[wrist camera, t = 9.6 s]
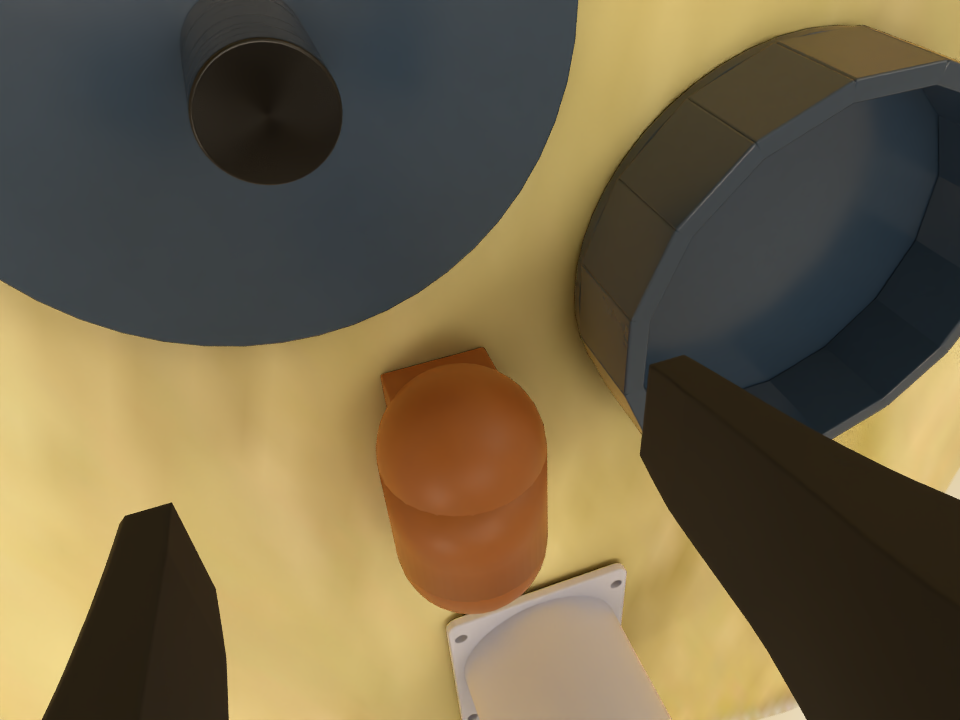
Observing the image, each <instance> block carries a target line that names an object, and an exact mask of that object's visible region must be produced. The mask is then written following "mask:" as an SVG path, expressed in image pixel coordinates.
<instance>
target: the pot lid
mask: <svg viewBox="0 0 960 720" xmlns="http://www.w3.org/2000/svg"><path fill="white" fill-rule="evenodd" d="M577 9H578V0H0V280H1V281H3V282H4V283H6V284H8V285H10V286H12V287H13V288H15V289H17V290H19V291H20V292H22V293H24V294H26V295H28V296H29V297H31V298H33V299H35V300H36V301H39V302H41V303H43V304H45V305H48V306H50V307H52V308H55V309H57V310H59V311H62V312H64V313H66V314H68V315H71V316H73V317H75V318H78V319H80V320H83V321H86V322H89V323H93V324H96V325H99V326H102V327H105V328H108V329H111V330H115V331H118V332H121V333H125V334H130V335H134V336H139V337H144V338H149V339H153V340H158V341H163V342H171V343H180V344H189V345H199V346H254V345H264V344H275V343H284V342H289V341H294V340H299V339H304V338H309V337H314V336H319V335H322V334H325V333H328V332H332V331H335V330H338V329H341V328H345V327H348V326H351V325H354V324H356V323H359V322H361V321H363V320H366V319H368V318H370V317H373V316H375V315H377V314H380V313H382V312H384V311H387V310H389V309H390V308H392V307H394V306H396V305H398V304H399V303H401V302H403V301H405V300H406V299H408V298H410V297H412V296H414V295H415V294H417V293H419V292H420V291H422V290H423V289H424V288H426V287H427V286H429V285H430V284H431V283H433V282H434V281H436V280H437V279H438V278H440V277H441V276H443V275H444V274H445V273H447V272H448V271H449V270H450V269H452V268H453V267H454V266H455V265H456V264H457V263H458V262H459V261H461V260H462V259H463V258H464V257H465V256H466V255H467V254H468V253H470V252H471V251H472V250H473V249H474V248H475V247H476V246H477V245H478V244H479V243H480V241H481V240H482V239H483V238H484V237H485V236H486V235H487V234H488V233H489V232H490V230H491V229H492V228H493V227H494V226H495V225H496V224H497V223H498V222H499V220H500V219H501V218H502V216H503V215H504V213H505V212H506V211H507V209H508V208H509V207H510V205H511V204H512V202H513V201H514V200H515V198H516V197H517V195H518V194H519V193H520V191H521V190H522V188H523V186H524V184H525V183H526V181H527V179H528V177H529V176H530V174H531V172H532V170H533V169H534V167H535V165H536V163H537V162H538V160H539V158H540V156H541V153H542V151H543V149H544V146H545V144H546V142H547V140H548V137H549V135H550V133H551V130H552V128H553V126H554V123H555V121H556V117H557V114H558V111H559V108H560V104H561V101H562V98H563V95H564V91H565V88H566V85H567V81H568V76H569V70H570V65H571V60H572V54H573V49H574V44H575V36H576V22H577Z"/></svg>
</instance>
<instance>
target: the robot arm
mask: <svg viewBox="0 0 960 720" xmlns="http://www.w3.org/2000/svg"><path fill="white" fill-rule="evenodd" d="M640 456H641V458H642V460H643V462H644V464H645V466H646V468H647V470H648V472H649V474H650V476H651V478H652V480H653V482H654V484H655V486H656V487H657V489H658V491H659V493H660V495H661V496H662V498H663V500H664V502H665V504H666V506H667V507H668V509H669V511H670V512H671V514H672V515H673V517H674V518H675V519H676V521H677V522H678V524H679V525H680V527H681V528H682V529H683V531H684V532H685V534H686V535H687V537H688V538H689V539H690V541H691V542H692V544H693V545H694V547H695V548H696V549H697V551H698V552H699V554H700V555H701V556H702V558H703V559H704V561H705V562H706V563H707V565H708V566H709V568H710V569H711V570H712V572H713V573H714V575H715V576H716V577H717V579H718V580H719V581H720V583H721V584H722V586H723V587H724V588H725V590H726V591H727V593H728V594H729V595H730V597H731V598H732V600H733V601H734V602H735V604H736V605H737V607H738V608H739V609H740V611H741V612H742V614H743V615H744V616H745V618H746V619H747V621H748V622H749V623H750V625H751V626H752V628H753V629H754V631H755V633H756V634H757V636H758V637H759V639H760V640H761V642H762V643H763V645H764V646H765V648H766V649H767V651H768V653H769V654H770V656H771V658H772V660H773V661H774V663H775V665H776V667H777V668H778V670H779V672H780V673H781V675H782V677H783V679H784V680H785V682H786V684H787V686H788V687H789V689H790V691H791V693H792V694H793V696H794V698H795V700H796V701H797V703H798V705H799V707H800V708H801V710H802V712H803V714H804V716H805V718H806V719H807V720H960V500H959V499H957V498H954V497H952V496H950V495H947V494H945V493H943V492H940V491H938V490H936V489H933V488H931V487H929V486H926V485H924V484H922V483H919V482H917V481H915V480H912V479H910V478H908V477H906V476H904V475H902V474H899V473H897V472H895V471H893V470H891V469H889V468H887V467H885V466H883V465H881V464H879V463H877V462H875V461H873V460H871V459H869V458H867V457H865V456H863V455H861V454H859V453H857V452H855V451H853V450H851V449H849V448H847V447H845V446H843V445H841V444H839V443H837V442H835V441H834V440H832V439H830V438H828V437H826V436H824V435H822V434H820V433H819V432H817V431H815V430H813V429H811V428H810V427H808V426H806V425H804V424H802V423H801V422H799V421H797V420H795V419H794V418H792V417H790V416H788V415H786V414H785V413H783V412H781V411H780V410H778V409H776V408H774V407H773V406H771V405H769V404H767V403H766V402H764V401H762V400H761V399H759V398H757V397H756V396H754V395H752V394H751V393H749V392H747V391H746V390H744V389H742V388H740V387H739V386H737V385H735V384H734V383H732V382H730V381H729V380H727V379H725V378H724V377H722V376H720V375H719V374H717V373H715V372H714V371H712V370H710V369H709V368H707V367H705V366H703V365H702V364H700V363H698V362H697V361H695V360H693V359H691V358H689V357H688V356H686V355H681V356H678V357H674V358H671V359H667V360H664V361H661V362H657V363H654V364H650V365H649V373H648V382H647V392H646V402H645V411H644V421H643V430H642V440H641V449H640ZM626 575H627V572H626V569H625V568H624V566H623V565H622V564H621V563H614V564H611V565H608V566H605V567H602V568H599V569H597V570H594V571H591V572H588V573H585V574H582V575H579V576H576V577H574V578H571V579H568V580H565V581H562V582H559V583H556V584H553V585H551V586H548V587H545V588H542V589H539V590H536V591H533V592H530V593H527V594H525V595H522V596H519V597H518V598H517V599H515V600H514V601H512V602H511V603H509V604H508V605H506V606H504V607H502V608H499V609H497V610H495V611H491V612H487V613H483V614H467V615H464V616H461V617H458V618H456V619H454V620H452V621H450V622H449V623H448V625H447V626H446V633H447V639H448V645H449V650H450V656H451V662H452V668H453V674H454V679H455V685H456V691H457V697H458V703H459V709H460V714H461V720H672V719H671V717H670V715H669V713H668V711H667V710H666V708H665V706H664V704H663V702H662V700H661V699H660V697H659V695H658V693H657V691H656V689H655V688H654V686H653V684H652V682H651V680H650V678H649V676H648V675H647V673H646V671H645V669H644V667H643V665H642V664H641V662H640V660H639V658H638V656H637V654H636V653H635V651H634V649H633V647H632V645H631V643H630V642H629V640H628V638H627V636H626V634H625V632H624V631H623V629H622V627H621V621H622V612H623V602H624V593H625V584H626ZM42 720H229V716H228V688H227V663H226V653H225V646H224V639H223V632H222V625H221V619H220V613H219V606H218V600H217V594H216V589H215V587H214V585H213V583H212V581H211V579H210V577H209V575H208V573H207V571H206V569H205V567H204V565H203V563H202V561H201V559H200V557H199V555H198V553H197V551H196V549H195V547H194V545H193V543H192V541H191V539H190V537H189V535H188V533H187V531H186V529H185V527H184V525H183V523H182V521H181V519H180V517H179V516H178V514H177V512H176V510H175V508H174V506H173V504H172V503H168V504H165V505H161V506H158V507H154V508H151V509H148V510H144V511H141V512H137V513H134V514H130V515H127V516H125V517H124V518H123V520H122V521H121V523H120V524H119V527H118V530H117V533H116V536H115V539H114V542H113V545H112V548H111V551H110V554H109V557H108V560H107V563H106V566H105V569H104V572H103V574H102V577H101V580H100V583H99V585H98V588H97V591H96V593H95V596H94V599H93V601H92V604H91V607H90V609H89V612H88V615H87V617H86V620H85V622H84V624H83V627H82V629H81V632H80V634H79V636H78V639H77V641H76V644H75V646H74V649H73V651H72V653H71V656H70V658H69V661H68V663H67V666H66V668H65V670H64V673H63V675H62V677H61V680H60V682H59V684H58V686H57V689H56V691H55V693H54V695H53V697H52V699H51V701H50V703H49V706H48V708H47V710H46V712H45V714H44V716H43V718H42Z"/></svg>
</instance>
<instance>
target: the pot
mask: <svg viewBox="0 0 960 720" xmlns="http://www.w3.org/2000/svg"><path fill="white" fill-rule="evenodd" d="M574 294H575V313H576V319H577V324H578V329H579V333H580V337H581V339H582V342H583V344H584V346H585V349H586V351H587V354H588V355H589V357H590V358H591V360H592V361H593V363H594V364H595V366H596V368H597V370H598V372H599V373H600V375H601V377H602V379H603V381H604V383H605V384H606V386H607V387H608V389H609V390H610V391H611V393H612V394H613V396H614V397H615V398H616V400H617V401H618V402H619V404H620V405H621V407H622V408H623V409H624V411H625V412H626V414H627V415H628V416H629V418H630V419H631V420H632V422H633V423H634V425H635V426H636V427H637V429H638V430H639V431H640V433H641V434H642V430H643V421H644V411H645V402H646V392H647V382H648V373H649V365H650V364H654V363H657V362H661V361H664V360H667V359H671V358H674V357H678V356H681V355H686V356H688V357H689V358H691V359H693V360H695V361H697V362H698V363H700V364H702V365H703V366H705V367H707V368H709V369H710V370H712V371H714V372H715V373H717V374H719V375H720V376H722V377H724V378H725V379H727V380H729V381H730V382H732V383H734V384H735V385H737V386H739V387H740V388H742V389H744V390H746V391H747V392H749V393H751V394H752V395H754V396H756V397H757V398H759V399H761V400H762V401H764V402H766V403H767V404H769V405H771V406H773V407H774V408H776V409H778V410H780V411H781V412H783V413H785V414H786V415H788V416H790V417H792V418H794V419H795V420H797V421H799V422H801V423H802V424H804V425H806V426H808V427H810V428H811V429H813V430H815V431H817V432H819V433H820V434H822V435H824V436H826V437H828V438H830V439H833V438H835V437H837V436H838V435H840V434H842V433H843V432H845V431H847V430H848V429H850V428H852V427H853V426H855V425H857V424H858V423H860V422H862V421H863V420H865V419H867V418H868V417H870V416H872V415H873V414H875V413H877V412H878V411H880V410H882V409H883V408H885V407H886V406H887V405H889V404H890V403H891V402H892V401H894V400H895V399H896V398H897V397H898V396H899V395H900V394H901V393H903V392H904V391H905V390H906V389H907V388H908V387H909V386H910V385H912V384H913V383H914V382H915V381H916V380H917V379H918V378H919V377H921V376H922V375H923V374H924V373H925V372H926V371H927V370H928V369H930V368H931V367H932V366H933V365H934V364H935V363H936V362H937V361H939V360H940V359H941V358H942V357H943V356H944V355H945V354H946V353H948V350H950V349H951V348H952V346H953V345H954V344H955V342H956V341H957V340H958V339H959V337H960V61H958V60H955V59H953V58H950V57H947V56H945V55H942V54H940V53H937V52H935V51H932V50H930V49H927V48H924V47H922V46H919V45H916V44H914V43H911V42H908V41H906V40H903V39H900V38H897V37H895V36H892V35H890V34H887V33H885V32H881V31H879V30H876V29H873V28H870V27H868V26H865V25H862V26H861V25H857V26H845V25H832V26H823V27H815V28H808V29H804V30H800V31H796V32H793V33H789V34H785V35H782V36H779V37H776V38H774V39H771V40H769V41H767V42H764V43H762V44H759V45H757V46H754V47H752V48H750V49H748V50H746V51H745V52H743V53H741V54H739V55H737V56H736V57H734V58H732V59H730V60H729V61H727V62H725V63H723V64H721V65H720V66H719V67H717V68H716V69H714V70H713V71H712V72H710V73H709V74H707V75H706V76H705V77H703V78H702V79H700V80H699V81H698V82H696V83H695V84H693V85H692V86H691V87H690V88H689V89H688V90H687V91H685V92H684V93H683V94H682V95H681V96H680V97H679V98H677V99H676V100H675V101H674V102H673V103H672V104H671V105H669V106H668V107H667V108H666V109H665V110H664V112H663V113H662V114H661V115H660V116H659V117H658V118H657V119H656V120H655V121H654V122H653V123H652V124H651V125H650V126H649V128H648V129H647V130H646V131H645V132H644V133H643V134H642V136H641V137H640V138H639V139H638V141H637V142H636V143H635V145H634V146H633V147H632V149H631V150H630V151H629V152H628V154H627V155H626V156H625V158H624V159H623V160H622V162H621V164H620V165H619V167H618V169H617V170H616V172H615V173H614V175H613V177H612V178H611V180H610V181H609V183H608V185H607V186H606V188H605V190H604V192H603V194H602V196H601V198H600V200H599V202H598V204H597V206H596V209H595V211H594V213H593V215H592V217H591V220H590V223H589V226H588V229H587V231H586V234H585V237H584V240H583V243H582V247H581V252H580V256H579V260H578V265H577V270H576V281H575V292H574Z"/></svg>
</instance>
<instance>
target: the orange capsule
mask: <svg viewBox="0 0 960 720" xmlns="http://www.w3.org/2000/svg"><path fill="white" fill-rule="evenodd" d="M381 382H382V387H383V392H384V397H385V402H386V407H387V409H386V410H385V412H384V414H383V417H382V420H381V422H380V425H379V430H378V434H377V443H376V455H377V465H378V470H379V474H380V479H381V483H382V488H383V492H384V497H385V501H386V506H387V510H388V515H389V519H390V524H391V528H392V533H393V537H394V542H395V546H396V551H397V555H398V559H399V561H400V564H401V566H402V568H403V571H404V573H405V575H406V577H407V579H408V580H409V581H410V583H411V584H412V585H413V587H414V588H415V589H416V590H417V591H418V592H419V593H420V594H421V595H422V596H423V597H424V598H426V599H427V600H428V601H429V602H431V603H433V604H435V605H437V606H439V607H440V608H443V609H446V610H449V611H453V612H456V613H462V614H483V613H487V612H491V611H495V610H497V609H499V608H502V607H504V606H506V605H508V604H509V603H511V602H512V601H514V600H515V599H517V598H518V597H519V596H521V595H522V594H523V593H524V592H525V591H526V590H527V589H528V588H529V587H530V585H531V584H532V582H533V581H534V579H535V577H536V576H537V574H538V572H539V571H540V569H541V566H542V563H543V560H544V558H545V553H546V546H547V538H548V514H547V443H546V437H545V431H544V424H543V422H542V420H541V417H540V415H539V413H538V411H537V409H536V406H535V404H534V403H533V401H532V400H531V399H530V397H529V396H528V395H527V394H526V392H525V391H524V390H523V389H522V388H521V387H520V386H519V385H518V384H517V383H516V382H514V381H513V380H512V379H510V378H509V377H507V376H505V375H503V374H501V373H500V372H498V371H497V370H496V368H495V366H494V364H493V362H492V361H491V359H490V357H489V355H488V354H487V352H486V350H485V348H484V347H481V348H477V349H474V350H470V351H466V352H463V353H459V354H455V355H451V356H448V357H444V358H440V359H437V360H433V361H429V362H425V363H422V364H418V365H414V366H411V367H407V368H403V369H400V370H396V371H392V372H388V373H385V374H382V375H381Z"/></svg>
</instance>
